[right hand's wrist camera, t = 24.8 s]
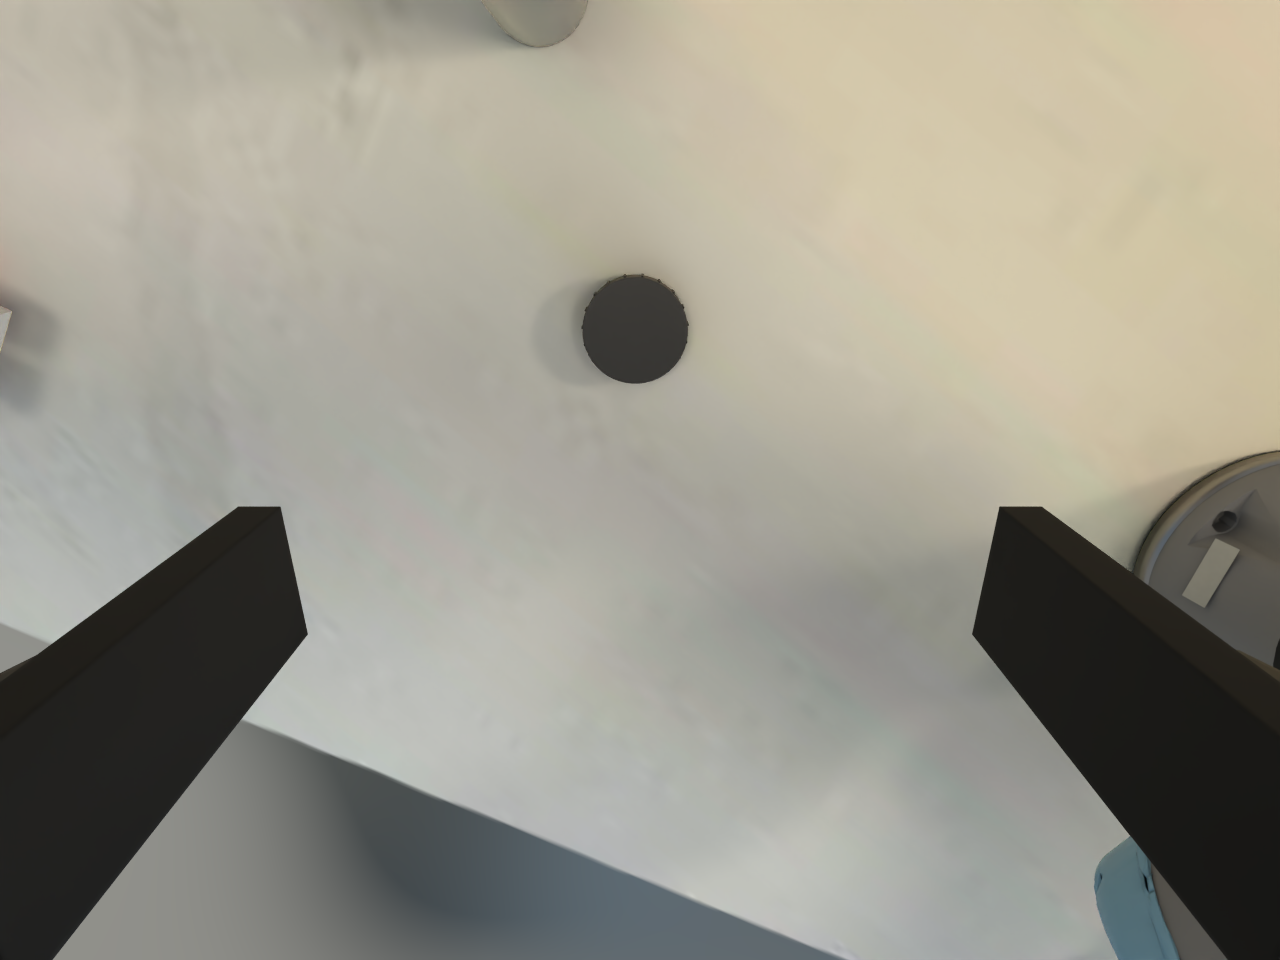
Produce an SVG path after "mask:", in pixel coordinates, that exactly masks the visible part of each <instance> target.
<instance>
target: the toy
mask: <svg viewBox="0 0 1280 960" xmlns="http://www.w3.org/2000/svg"><path fill="white" fill-rule="evenodd" d="M11 314H12V311H11V310H9V309H7V308H5V307H2V306H0V352H1V349H2V345H3V342H4V338H5V335H6V331H7V328H8V324H9V321H10V317H11Z"/></svg>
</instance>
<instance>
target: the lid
mask: <svg viewBox="0 0 1280 960" xmlns="http://www.w3.org/2000/svg"><path fill="white" fill-rule="evenodd" d="M674 293H675V292H674V290H671V289H670V288H669V287H667V286H666V285H665V284H663V283H662V282H661V281H660V279H658V280H656V279H654V278H651V277H648V276H644V274H641V275H628V276H626V274H624V276H623V277H619V278H617V279H614V280H612V281H608V282H607V284H606V285H604V286H603V287H602V288H601V289H600V290H599V291H598V292H595V293H594V297H593V299H592V300H591V302H590V304H589V306H588V307H586V309H585V311H586V313H585V316H584V320H583V325H582V329H583V340H584V346H585V348H586V350H587V353H588V355H589V357H590V358H591V360H592V362H593V363H594V364H595V365H596V366H597V367H598V368H599V369H600V370H601V371H602V372H603V373H605V374H606V375H607V376H609V377H611V378H613V379H615V380H618V381H621V382H625V383H646V382H650V381H653V380H655V379H658V378H660V377H661V376H663V375H665V374H666V373H667V372H669V371H670V370H671V369H672V368H673V367H674V366H675V364H676V363H677V362H678V361H679V359H680V358H681V356H682V354H683V351H684V349H685V346H686V343H687V336H688V326H689V324H688V322H687V319H686V315H685V312H684V310H683V309H684V306H683V304H681V303H680V301H679V299H678V298H677V296H676V295H675V294H674Z"/></svg>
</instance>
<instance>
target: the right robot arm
mask: <svg viewBox="0 0 1280 960" xmlns="http://www.w3.org/2000/svg"><path fill="white" fill-rule="evenodd" d="M307 635H308V633H307V628H306V624H305V619H304V614H303V610H302V605H301V600H300V596H299V591H298V586H297V582H296V577H295V572H294V568H293V563H292V558H291V554H290V549H289V544H288V540H287V535H286V531H285V526H284V521H283V517H282V512H281V507H237V508H236V509H235V510H233V511H232V512H230V513H229V514H228V515H226V516H225V517H224V518H222V519H221V520H220V521H218V522H217V523H216V524H214V525H213V526H211V527H210V528H209V529H207V530H206V531H205V532H203V533H202V534H201V535H199V536H198V537H197V538H195V539H194V540H192V541H191V542H190V543H188V544H187V545H186V546H184V547H183V548H182V549H180V550H179V551H178V552H176V553H175V554H173V555H172V556H171V557H169V558H168V559H167V560H165V561H164V562H163V563H161V564H160V565H158V566H157V567H156V568H154V569H153V570H152V571H150V572H149V573H148V574H146V575H145V576H144V577H142V578H141V579H139V580H138V581H137V582H135V583H134V584H133V585H131V586H130V587H129V588H127V589H126V590H125V591H123V592H122V593H120V594H119V595H118V596H116V597H115V598H114V599H112V600H111V601H110V602H108V603H107V604H106V605H104V606H103V607H101V608H100V609H99V610H97V611H96V612H95V613H93V614H92V615H91V616H89V617H88V618H87V619H85V620H84V621H82V622H81V623H80V624H78V625H77V626H76V627H74V628H73V629H72V630H70V631H69V632H67V633H66V634H65V635H63V636H62V637H61V638H59V639H58V640H57V641H55V642H54V643H53V644H51V645H50V646H48V647H47V648H46V649H44V650H43V651H42V652H40V653H39V654H38V655H36V656H34V657H32V658H30V659H28V660H26V661H24V662H22V663H20V664H18V665H16V666H14V667H12V668H10V669H8V670H6V671H4V672H2V673H0V960H53V958H54V957H55V956H56V955H57V953H58V952H59V951H60V949H61V948H62V947H63V946H64V944H65V943H66V942H67V941H68V939H69V938H70V937H71V935H72V934H73V933H74V932H75V930H76V929H77V928H78V926H79V925H80V924H81V923H82V921H83V920H84V919H85V918H86V916H87V915H88V914H89V912H90V911H91V910H92V909H93V907H94V906H95V905H96V904H97V902H98V901H99V900H100V898H101V897H102V896H103V895H104V893H105V892H106V891H107V890H108V888H109V887H110V886H111V884H112V883H113V882H114V881H115V879H116V878H117V877H118V876H119V874H120V873H121V872H122V870H123V869H124V868H125V867H126V865H127V864H128V863H129V862H130V860H131V859H132V858H133V856H134V855H135V854H136V853H137V851H138V850H139V849H140V848H141V846H142V845H143V844H144V842H145V841H146V840H147V839H148V837H149V836H150V835H151V833H152V832H153V831H154V830H155V828H156V827H157V826H158V825H159V823H160V822H161V821H162V819H163V818H164V817H165V816H166V814H167V813H168V812H169V810H170V809H171V808H172V807H173V805H174V804H175V803H176V802H177V800H178V799H179V798H180V797H181V795H182V794H183V793H184V791H185V790H186V789H187V788H188V786H189V785H190V784H191V783H192V781H193V780H194V779H195V777H196V776H197V775H198V774H199V772H200V771H201V770H202V768H203V767H204V766H205V765H206V763H207V762H208V761H209V760H210V758H211V757H212V756H213V754H214V753H215V752H216V751H217V749H218V748H219V747H220V746H221V744H222V743H223V742H224V740H225V739H226V738H227V737H228V735H229V734H230V733H231V731H232V730H233V729H234V728H235V726H236V725H237V724H238V723H239V721H240V720H241V719H242V718H243V716H244V715H245V714H246V712H247V711H248V710H249V709H250V707H251V706H252V705H253V704H254V702H255V701H256V700H257V698H258V697H259V696H260V695H261V693H262V692H263V691H264V689H265V688H266V687H267V686H268V684H269V683H270V682H271V681H272V679H273V678H274V677H275V675H276V674H277V673H278V672H279V670H280V669H281V668H282V667H283V665H284V664H285V663H286V661H287V660H288V659H289V658H290V656H291V655H292V654H293V653H294V651H295V650H296V649H297V647H298V646H299V645H300V644H301V642H302V641H303V640H304V639H305V637H306V636H307ZM972 635H973V636H974V637H975V639H976V640H977V641H978V642H979V644H980V645H981V646H982V647H983V649H984V650H985V651H986V653H987V654H988V655H989V656H990V658H991V659H992V660H993V661H994V663H995V664H996V665H997V667H998V668H999V669H1000V670H1001V672H1002V673H1003V674H1004V675H1005V677H1006V678H1007V679H1008V681H1009V682H1010V683H1011V684H1012V686H1013V687H1014V688H1015V689H1016V691H1017V692H1018V693H1019V695H1020V696H1021V697H1022V698H1023V700H1024V701H1025V702H1026V704H1027V705H1028V706H1029V707H1030V709H1031V710H1032V711H1033V712H1034V714H1035V715H1036V716H1037V718H1038V719H1039V720H1040V721H1041V723H1042V724H1043V725H1044V726H1045V728H1046V729H1047V730H1048V732H1049V733H1050V734H1051V735H1052V737H1053V738H1054V739H1055V740H1056V742H1057V743H1058V744H1059V746H1060V747H1061V748H1062V749H1063V751H1064V752H1065V753H1066V754H1067V756H1068V757H1069V758H1070V760H1071V761H1072V762H1073V763H1074V765H1075V766H1076V767H1077V768H1078V770H1079V771H1080V772H1081V774H1082V775H1083V776H1084V777H1085V779H1086V780H1087V781H1088V783H1089V784H1090V785H1091V786H1092V788H1093V789H1094V790H1095V791H1096V793H1097V794H1098V795H1099V797H1100V798H1101V799H1102V800H1103V802H1104V803H1105V804H1106V805H1107V807H1108V808H1109V809H1110V811H1111V812H1112V813H1113V814H1114V816H1115V817H1116V818H1117V819H1118V821H1119V822H1120V823H1121V825H1122V826H1123V827H1124V828H1125V830H1126V831H1127V832H1128V833H1129V835H1130V837H1129V838H1127V839H1126V840H1125V841H1124V842H1122V843H1121V844H1120V845H1118V846H1117V847H1116V848H1114V849H1113V850H1112V851H1110V852H1109V853H1108V854H1107V855H1106V856H1105V857H1104V858H1103V859H1102V860H1101V861H1100V863H1099V864H1098V867H1097V869H1096V872H1095V884H1094V889H1095V894H1096V901H1097V908H1098V911H1099V914H1100V917H1101V920H1102V923H1103V926H1104V928H1105V931H1106V933H1107V936H1108V938H1109V940H1110V943H1111V945H1112V947H1113V949H1114V951H1115V953H1116V955H1117V957H1118V959H1119V960H1280V452H1274V453H1268V454H1263V455H1259V456H1255V457H1252V458H1249V459H1246V460H1243V461H1240V462H1237V463H1235V464H1233V465H1230V466H1228V467H1226V468H1224V469H1222V470H1220V471H1218V472H1216V473H1214V474H1212V475H1211V476H1209V477H1207V478H1206V479H1204V480H1203V481H1201V482H1200V483H1198V484H1197V485H1195V486H1194V487H1192V488H1191V489H1190V490H1189V491H1187V492H1186V493H1185V494H1184V495H1182V496H1181V497H1180V498H1179V499H1178V500H1177V501H1176V502H1175V503H1174V504H1173V505H1172V506H1171V507H1170V508H1169V509H1168V510H1167V511H1166V512H1165V513H1164V514H1163V516H1162V517H1161V518H1160V519H1159V521H1158V522H1157V523H1156V524H1155V526H1154V527H1153V529H1152V530H1151V532H1150V533H1149V535H1148V537H1147V539H1146V540H1145V542H1144V544H1143V546H1142V548H1141V551H1140V553H1139V555H1138V558H1137V561H1136V564H1135V568H1134V573H1133V574H1132V573H1131V572H1130V571H1128V570H1127V569H1126V568H1124V567H1123V566H1122V565H1120V564H1119V563H1117V562H1116V561H1115V560H1113V559H1112V558H1111V557H1109V556H1108V555H1107V554H1105V553H1104V552H1102V551H1101V550H1100V549H1098V548H1097V547H1096V546H1094V545H1093V544H1092V543H1090V542H1089V541H1088V540H1086V539H1085V538H1083V537H1082V536H1081V535H1079V534H1078V533H1077V532H1075V531H1074V530H1073V529H1071V528H1070V527H1069V526H1067V525H1066V524H1064V523H1063V522H1062V521H1060V520H1059V519H1058V518H1056V517H1055V516H1054V515H1052V514H1051V513H1050V512H1048V511H1047V510H1045V509H1044V508H1043V507H999V512H998V517H997V521H996V526H995V531H994V535H993V540H992V544H991V549H990V554H989V558H988V563H987V568H986V572H985V577H984V582H983V586H982V591H981V596H980V600H979V605H978V610H977V614H976V619H975V624H974V628H973V633H972Z"/></svg>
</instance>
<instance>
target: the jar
mask: <svg viewBox="0 0 1280 960" xmlns="http://www.w3.org/2000/svg"><path fill="white" fill-rule="evenodd" d="M480 1H481V2H482V3H483V5H484V6H485V7H486V9H487V10H488V11H489V12H490V14H491V15H492V16H493V18H494V19H495V20H496V22H497V23H498V24H499V26H500V27H501V28H502V29H503V30H504V31H505V32H506V33H507V34H508V35H509V36H510V37H512V38H513V39H515V40H516V41H518V42H520V43H523V44H525V45H529V46H534V47H546V46H551V45H554V44H556V43H559V42H561V41H562V40H564V39H565V38H567V37H568V36H569V35H570V34H571V33H572V32H573V31H574V30H575V29H576V27H577V26H578V25H579V23H580V21H581V19H582V18H583V15H584V13H585V10H586V6H587V2H588V0H480Z"/></svg>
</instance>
